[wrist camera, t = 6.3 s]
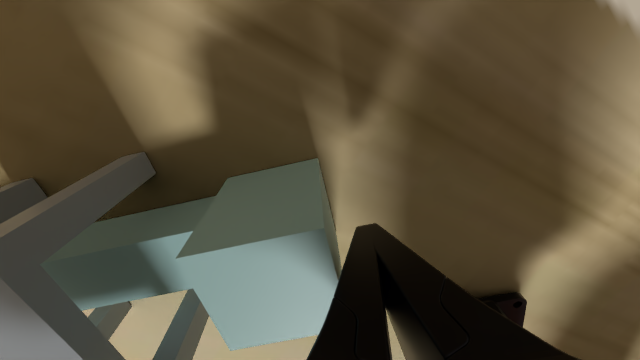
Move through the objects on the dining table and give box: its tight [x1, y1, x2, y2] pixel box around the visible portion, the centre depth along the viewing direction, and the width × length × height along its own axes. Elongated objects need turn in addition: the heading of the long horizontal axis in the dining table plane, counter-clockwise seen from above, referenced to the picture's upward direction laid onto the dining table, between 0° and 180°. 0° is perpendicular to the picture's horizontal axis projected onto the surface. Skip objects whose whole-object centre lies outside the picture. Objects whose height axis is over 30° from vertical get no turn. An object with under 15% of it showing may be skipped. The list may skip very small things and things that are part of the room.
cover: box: [0, 152, 209, 360], centre depth 10 cm, size 8×6×6 cm
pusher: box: [40, 158, 342, 351], centre depth 10 cm, size 4×16×5 cm, turn 102°
